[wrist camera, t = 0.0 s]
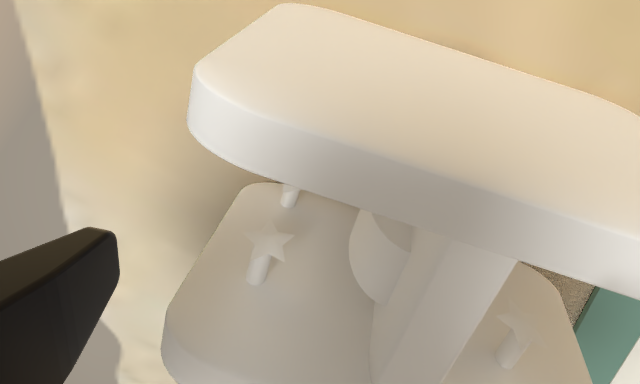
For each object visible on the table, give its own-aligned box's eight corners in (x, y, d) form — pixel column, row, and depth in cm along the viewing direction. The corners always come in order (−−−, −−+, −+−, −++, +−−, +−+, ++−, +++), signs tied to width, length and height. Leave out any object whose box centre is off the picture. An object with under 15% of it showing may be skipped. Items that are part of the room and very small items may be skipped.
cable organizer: (655, 106, 20) (894, 310, 10) (527, 297, 25) (597, 552, 15) (292, -13, 20) (165, 71, 10) (242, 203, 25) (128, 396, 15)
